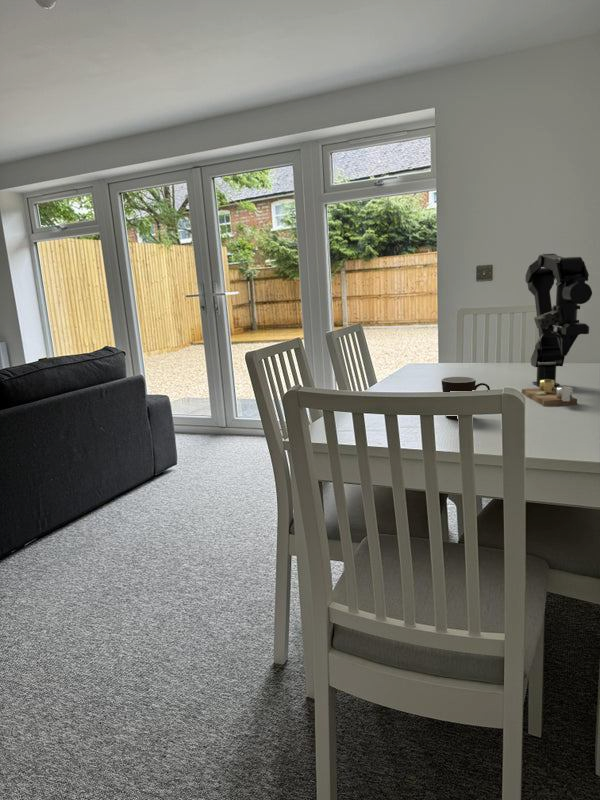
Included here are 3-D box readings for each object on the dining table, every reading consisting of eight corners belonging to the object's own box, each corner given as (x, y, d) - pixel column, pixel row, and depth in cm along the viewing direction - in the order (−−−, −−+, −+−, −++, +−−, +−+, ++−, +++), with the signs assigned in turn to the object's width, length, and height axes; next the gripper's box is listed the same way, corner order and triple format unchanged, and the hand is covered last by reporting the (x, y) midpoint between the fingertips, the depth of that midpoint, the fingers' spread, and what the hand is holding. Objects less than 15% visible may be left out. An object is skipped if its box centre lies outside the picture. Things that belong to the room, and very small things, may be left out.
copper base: (521, 393, 174) (521, 388, 173) (551, 392, 173) (551, 386, 173) (543, 405, 157) (543, 399, 157) (576, 404, 157) (577, 398, 156)
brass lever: (539, 387, 173) (539, 378, 173) (553, 387, 172) (554, 378, 171) (540, 392, 166) (541, 382, 165) (555, 392, 164) (556, 383, 164)
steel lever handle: (555, 395, 161) (556, 385, 161) (571, 395, 160) (571, 385, 160) (557, 401, 154) (558, 390, 154) (574, 401, 153) (574, 391, 152)
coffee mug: (437, 419, 148) (437, 381, 146) (445, 412, 155) (445, 376, 153) (484, 423, 143) (484, 383, 141) (490, 415, 150) (491, 377, 148)
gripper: (527, 301, 175) (525, 352, 178) (549, 305, 156) (546, 361, 160) (565, 299, 174) (562, 350, 177) (591, 303, 155) (588, 360, 159)
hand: (563, 355), depth 168 cm, fingers closed
